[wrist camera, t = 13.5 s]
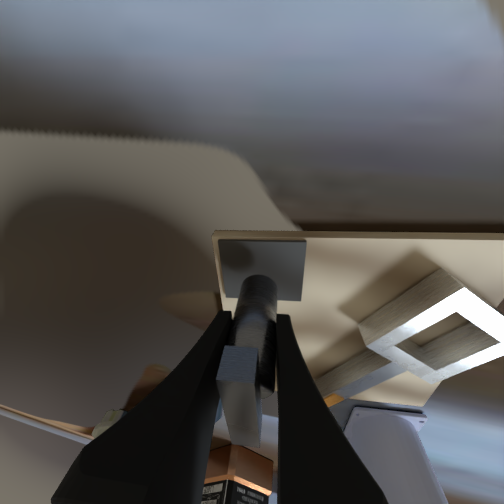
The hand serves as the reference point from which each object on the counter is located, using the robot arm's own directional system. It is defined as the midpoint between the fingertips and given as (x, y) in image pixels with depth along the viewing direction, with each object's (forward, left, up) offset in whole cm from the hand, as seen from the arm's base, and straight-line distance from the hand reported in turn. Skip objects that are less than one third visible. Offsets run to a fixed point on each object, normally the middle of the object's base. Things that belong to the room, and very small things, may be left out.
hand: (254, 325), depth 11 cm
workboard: (-7, -7, -6) cm, 11 cm away
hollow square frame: (-8, -10, -5) cm, 13 cm away
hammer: (0, 0, -3) cm, 3 cm away
